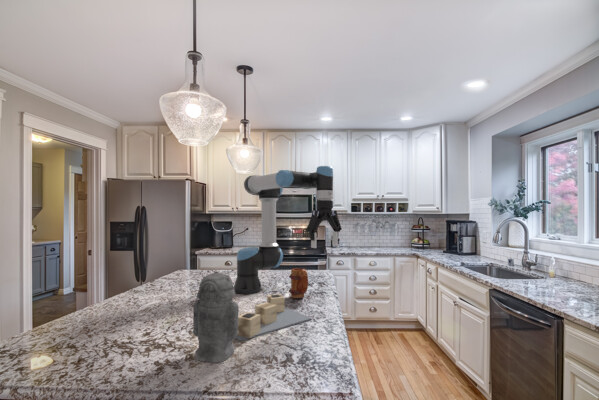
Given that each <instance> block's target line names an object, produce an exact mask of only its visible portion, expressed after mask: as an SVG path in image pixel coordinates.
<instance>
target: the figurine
mask: <svg viewBox="0 0 599 400" xmlns="http://www.w3.org/2000/svg"><path fill="white" fill-rule="evenodd" d="M198 286H199V287H198V292H197V294H196V298H197V300H196V301H195V302H194V303H193V311H192V312H193V313H192V314H193V316H192V317H193V321H192V328H193V329H192V334H193V335H194V336H195V337H196V338H197V340H198V348H196V350H195V352H194V354H195V355H194V356H195V359H196V360H197V361H199V362H206V363H214V364H215V363H221V362H224V361H226V360H228V359H229V358H230V357H231V356H232V354H234V353H235V345H234V344H233V341H235V340H236V339H235V338H236V337H237V335H238V333H239V331H238V316H239V312H240V311H239V310H240V307H239V304H238V303H237V302H235V301H234V300H233V297H234V296H236V293H235V290H234V283H233V280H232V278H231V277H230V276H229V275H228V274H226V273H223V272H222V273H221V272H219V271H217V270H215V271H214V272H213V273H210V274H207V275H205V276H203V277H202V279H201V281H200V283H199V285H198Z"/></svg>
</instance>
